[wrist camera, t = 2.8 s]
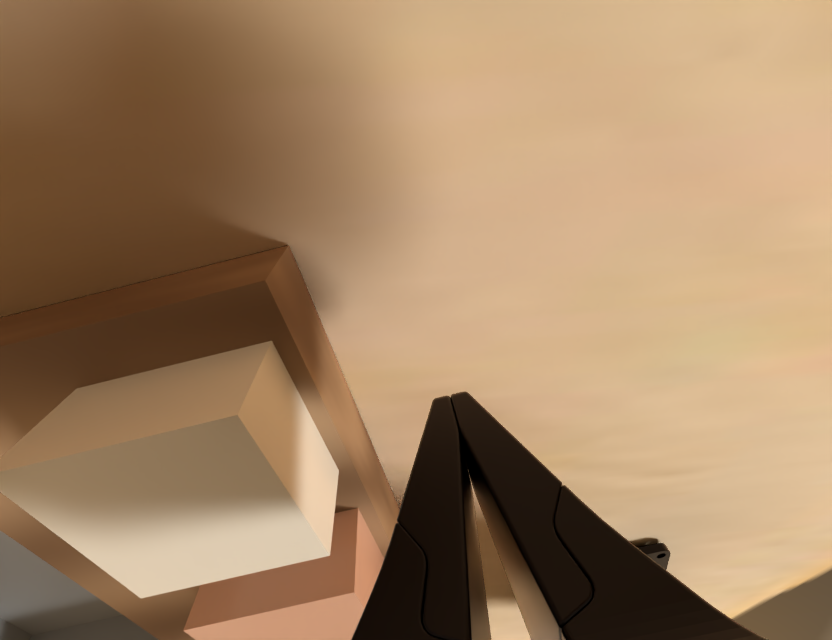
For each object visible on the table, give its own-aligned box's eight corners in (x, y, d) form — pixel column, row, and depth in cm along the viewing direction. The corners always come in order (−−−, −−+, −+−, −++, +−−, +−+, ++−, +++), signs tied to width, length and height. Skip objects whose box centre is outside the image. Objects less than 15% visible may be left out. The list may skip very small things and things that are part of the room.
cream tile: (338, 470, 11) (330, 555, 9) (185, 506, 11) (141, 598, 9) (271, 340, 9) (237, 414, 7) (76, 388, 9) (-21, 476, 7)
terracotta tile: (394, 578, 15) (397, 658, 13) (277, 605, 15) (259, 688, 13) (358, 507, 12) (354, 592, 10) (217, 540, 12) (183, 630, 10)
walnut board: (410, 534, 18) (414, 593, 15) (194, 583, 18) (170, 647, 16) (288, 245, 10) (265, 280, 8) (-77, 337, 10) (-196, 395, 8)
